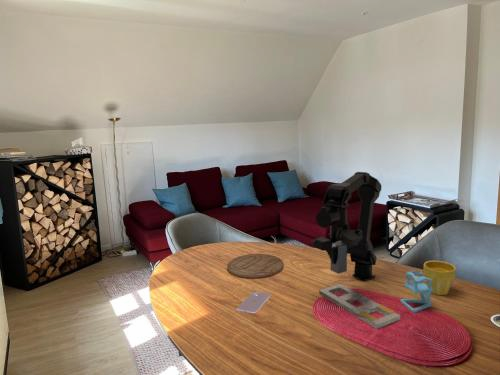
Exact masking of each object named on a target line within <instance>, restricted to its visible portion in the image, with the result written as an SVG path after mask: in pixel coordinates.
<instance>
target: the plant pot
mask: <svg viewBox="0 0 500 375" xmlns="http://www.w3.org/2000/svg"><path fill="white" fill-rule="evenodd" d="M422 270H423V272H422V273H423V274H424V275H425V277H427V278H430V279H432V282H431V284H430V287H431V288H432V289H433V292H431V294H434V295H438V296H446V295H448V294H449V291H450V288H451V286H452V281H453V279H455V277H456V272H457V268H456V266H455V265H454V264H451V263H450V262H446V261H442V260H441V261H440V260H427V261H425V262H424V263H423V269H422ZM428 283H429V281H426V285H427V286H428Z"/></svg>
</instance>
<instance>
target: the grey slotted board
mask: <svg viewBox="0 0 500 375" xmlns="http://www.w3.org/2000/svg"><path fill="white" fill-rule="evenodd" d="M338 292H340V293H343V294H342V295H340V296H338V295H335V293H338ZM318 293H319V295H320V296H322V297H323V298H325V299H327V300H328V299H329V300H328V301H330V302H331V303H333V302H334V303H333V304H335V305H336V306H338V305H339V306H338V307H340V306H341V307H340V308H342V309H343V308H344V309H343V310H345V311H347V312H348V313H350V314H352V315H353V316H355V317H356V316H357V318H358V319H360V320H362V321H363V322H365V323H367V324H368V325H370V326H371V327H373V328H375V329H376V330H378V329H382V328H383V327H386V326H389V325H390V324H393V323H396V322H398V321H400V320H401V314H398V313H396V312H395V310H393V309H390V308H388V306H385V305H383V304H380V303H378V302H375V301H374V300H372V299H371V298H368V297H367V296H364V295H363V294H361V293H359V292H357V291H355V290H353V289H352V288H350V287H347V286H346V285H344V284H341V283H338V284H334V285H332V286H328V287H326V288H321V289H319V292H318ZM344 293H345V294H344ZM356 300H357V301H356ZM353 302H359V303H360V304H362V303H363V304H362V305H359V306H355V305H353V304H351V303H353ZM364 304H365V305H364ZM375 312H377V313H379V314H381V315H382V316H383V317H380V318H377V317H376V316H373V315H372V313H375ZM370 313H371V314H370ZM388 324H389V325H388Z"/></svg>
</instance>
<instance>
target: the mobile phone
mask: <svg viewBox="0 0 500 375" xmlns="http://www.w3.org/2000/svg"><path fill="white" fill-rule="evenodd" d="M270 297H271V293H268V292H262V291H258V290H257V291H255V290H254V291H252V292H251V293H250V294H249V295H248V296H247V297H246V298H245V299H244V300H243V301H242V302H241V303H240V304H239V306H237V308H236V311H237V312H242V313H248V314H257V312H259V310H260V309H261V308H262V307H263V306H264V305H265V303H266V302H267V301H268V300H269V299H270Z"/></svg>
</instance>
